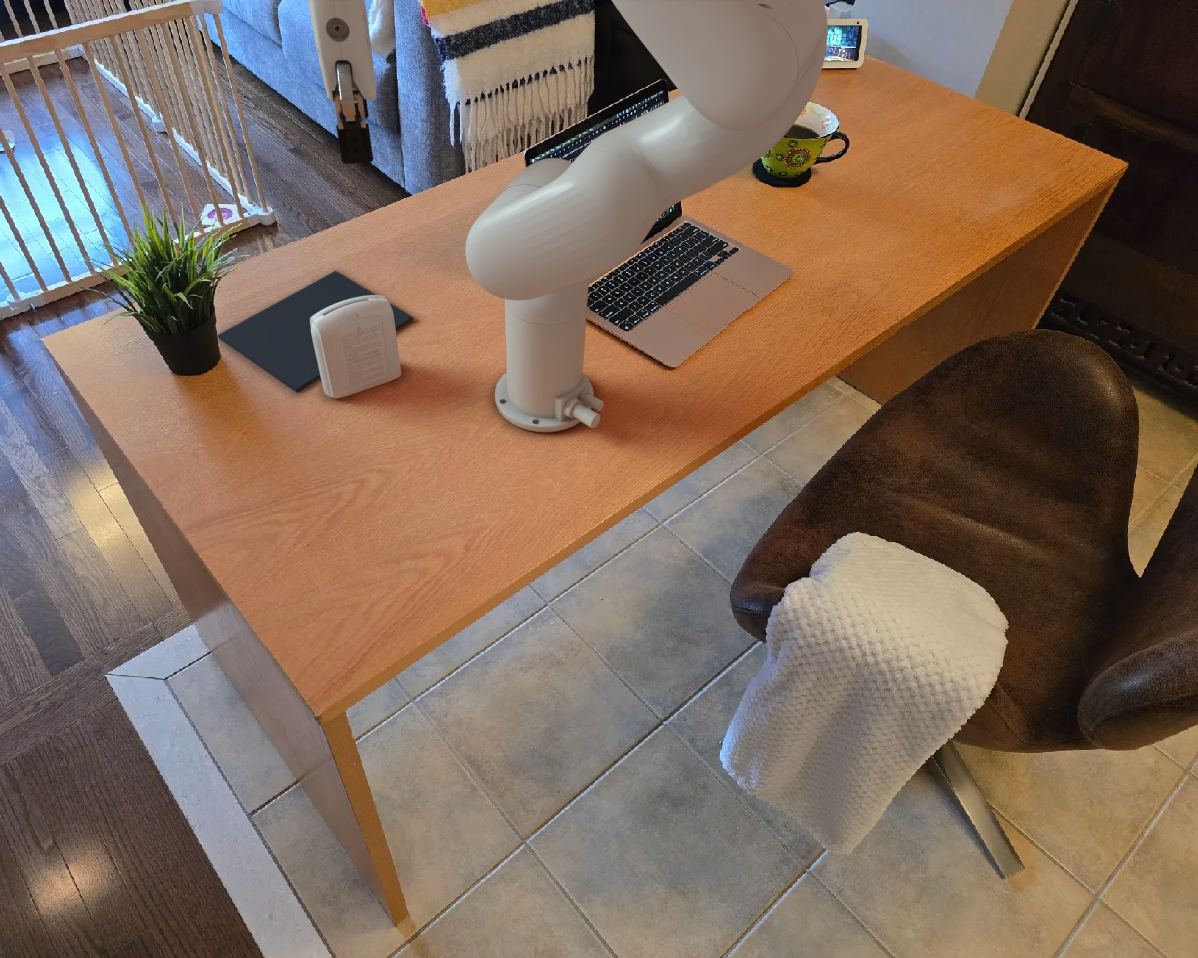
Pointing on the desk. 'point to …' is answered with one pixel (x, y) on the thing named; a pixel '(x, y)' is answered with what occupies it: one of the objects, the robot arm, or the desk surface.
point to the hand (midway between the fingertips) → (356, 139)
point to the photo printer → (355, 345)
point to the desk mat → (295, 330)
